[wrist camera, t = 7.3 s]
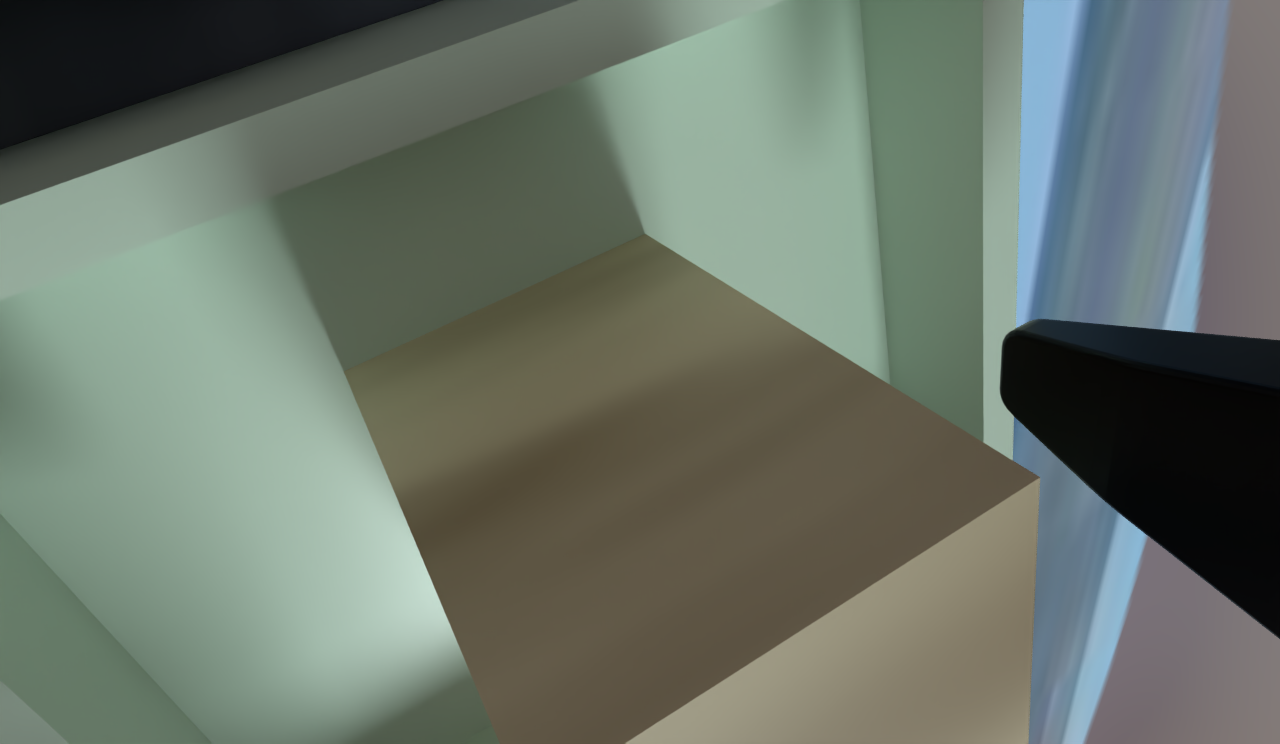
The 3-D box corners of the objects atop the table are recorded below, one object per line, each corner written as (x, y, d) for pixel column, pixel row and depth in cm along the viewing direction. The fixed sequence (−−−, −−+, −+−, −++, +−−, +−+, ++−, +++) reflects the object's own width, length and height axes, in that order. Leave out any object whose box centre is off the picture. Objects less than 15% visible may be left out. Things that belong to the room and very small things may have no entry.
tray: (905, 475, 16) (1010, 551, 14) (276, 853, 13) (297, 1022, 11) (861, -141, 10) (1027, -159, 8) (-307, 253, 7) (-493, 378, 5)
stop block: (705, 466, 13) (1027, 780, 8) (466, 599, 12) (674, 1050, 7) (645, 233, 11) (1039, 476, 6) (343, 372, 9) (525, 807, 5)
